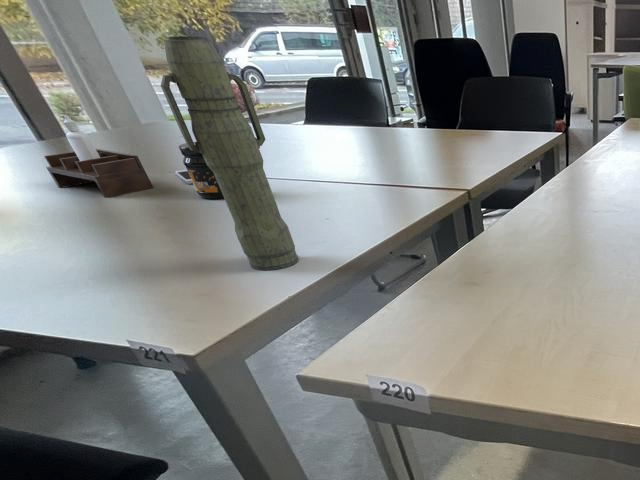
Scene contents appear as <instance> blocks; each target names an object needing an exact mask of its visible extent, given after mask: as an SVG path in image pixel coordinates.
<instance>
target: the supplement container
mask: <svg viewBox="0 0 640 480" xmlns="http://www.w3.org/2000/svg"><path fill="white" fill-rule="evenodd" d="M195 142H196V141H193V143H194V145H196V144H195ZM178 149H179V151H180V153H181V155H182V156H183V159H182V163H183V165H184V167H185V168H186V170H187V171H188V173H189V175H190V177H191V179H192V182H193V183H192V184H193V186H194V188H195V190H196V193H197V195H198V196H199V197H201V198H203V199H206V200H207V199H208V200H222V199H223V198H224V196H223V194H222V192H221V189H220V187H219V185H218V182H217V180H216V178H215V175H214V173H213V171H212V170H211V169H210V168H209V167H208V166H207V164H206V162H205V160H204V157H203V155H202V154H201V153H199V151H191V150H190V148H189V147H188V145H187V143H186V142H184V143H181V144H179V145H178ZM223 200H224V199H223Z"/></svg>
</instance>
